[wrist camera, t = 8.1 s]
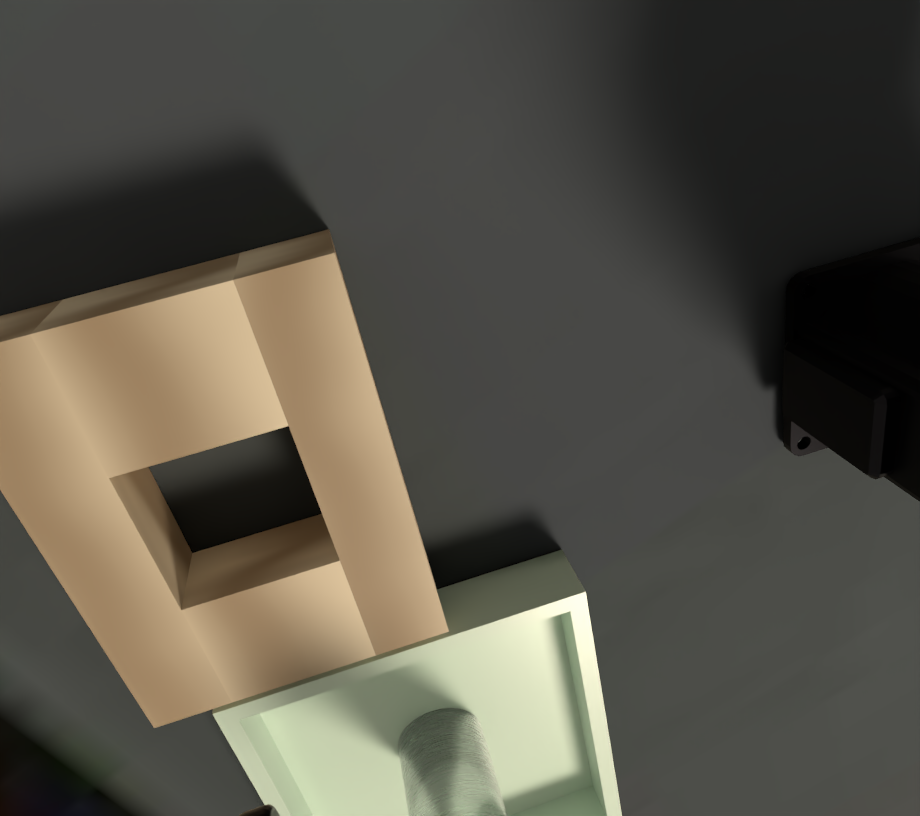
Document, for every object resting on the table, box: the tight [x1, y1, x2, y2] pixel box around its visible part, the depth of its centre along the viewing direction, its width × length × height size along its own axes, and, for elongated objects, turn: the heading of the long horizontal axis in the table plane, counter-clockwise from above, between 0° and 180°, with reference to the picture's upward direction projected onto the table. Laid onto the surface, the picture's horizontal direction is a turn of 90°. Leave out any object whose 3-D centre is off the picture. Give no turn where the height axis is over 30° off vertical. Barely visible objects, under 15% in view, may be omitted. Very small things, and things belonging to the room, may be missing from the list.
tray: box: [212, 550, 622, 816], centre depth 26 cm, size 12×13×2 cm
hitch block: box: [0, 229, 449, 728], centre depth 19 cm, size 9×12×2 cm
